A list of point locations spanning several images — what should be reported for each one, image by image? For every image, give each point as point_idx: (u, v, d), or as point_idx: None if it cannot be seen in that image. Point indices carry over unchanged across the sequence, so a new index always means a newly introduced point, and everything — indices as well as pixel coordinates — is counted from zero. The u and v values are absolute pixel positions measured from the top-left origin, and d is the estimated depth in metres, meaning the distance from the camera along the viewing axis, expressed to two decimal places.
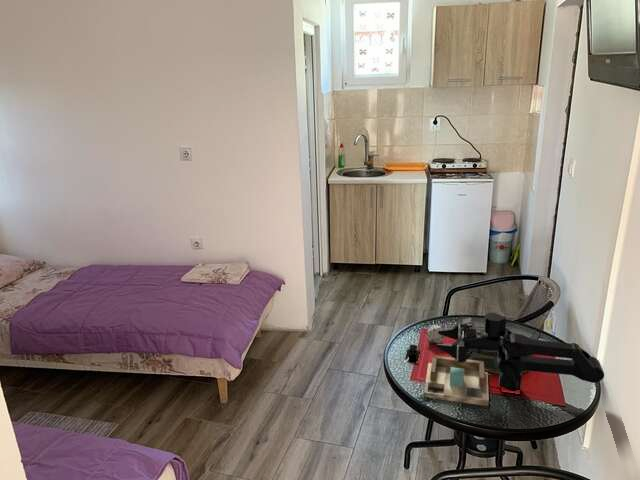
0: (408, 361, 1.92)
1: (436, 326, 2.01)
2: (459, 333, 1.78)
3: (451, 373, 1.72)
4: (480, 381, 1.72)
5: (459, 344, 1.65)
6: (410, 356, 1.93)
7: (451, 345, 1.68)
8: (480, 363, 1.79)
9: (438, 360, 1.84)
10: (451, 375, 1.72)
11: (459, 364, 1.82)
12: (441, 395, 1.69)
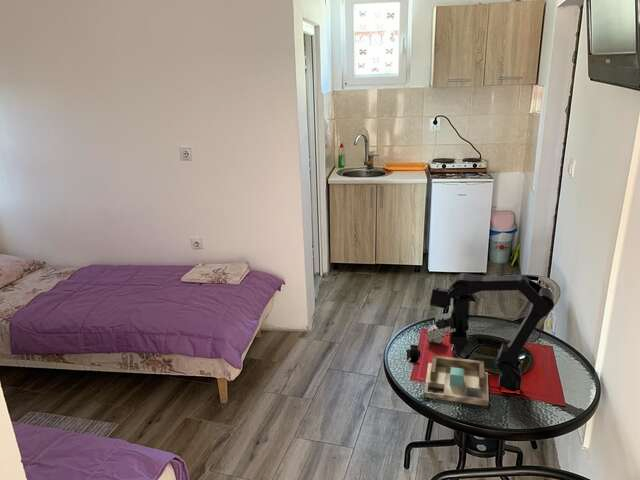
0: (410, 361, 1.91)
1: None
2: None
3: (451, 373, 1.72)
4: (480, 381, 1.72)
5: None
6: (412, 356, 1.93)
7: (454, 344, 1.70)
8: (480, 363, 1.79)
9: (438, 360, 1.84)
10: (451, 375, 1.72)
11: (459, 364, 1.82)
12: (441, 395, 1.69)
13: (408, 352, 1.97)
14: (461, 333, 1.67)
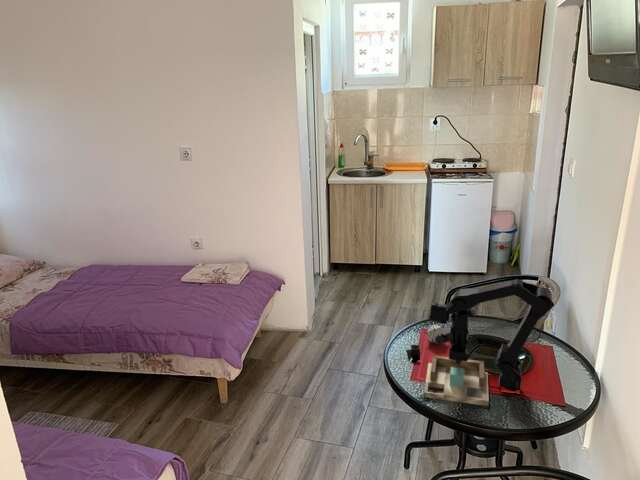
0: (412, 362, 1.91)
1: (436, 326, 2.01)
2: None
3: (451, 373, 1.72)
4: (480, 381, 1.72)
5: None
6: (413, 356, 1.93)
7: None
8: (480, 363, 1.79)
9: (438, 360, 1.84)
10: (451, 375, 1.72)
11: (459, 364, 1.82)
12: (441, 395, 1.69)
13: (408, 352, 1.97)
14: (460, 348, 1.69)
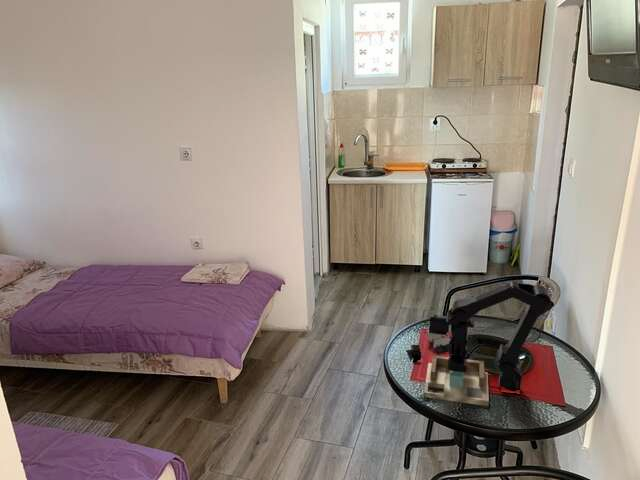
0: (414, 362, 1.91)
1: None
2: None
3: (451, 374, 1.72)
4: (480, 381, 1.72)
5: None
6: (414, 356, 1.93)
7: None
8: (480, 363, 1.79)
9: (438, 360, 1.84)
10: (451, 376, 1.71)
11: None
12: (441, 395, 1.69)
13: (409, 352, 1.97)
14: (459, 359, 1.68)
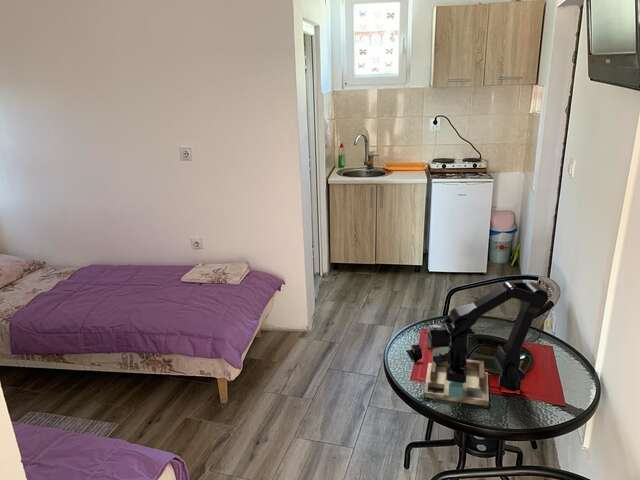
0: None
1: (436, 326, 2.01)
2: None
3: (450, 384, 1.66)
4: (480, 381, 1.72)
5: None
6: (415, 356, 1.93)
7: None
8: (480, 363, 1.79)
9: None
10: (450, 386, 1.66)
11: None
12: (441, 395, 1.69)
13: (409, 353, 1.97)
14: (458, 369, 1.63)
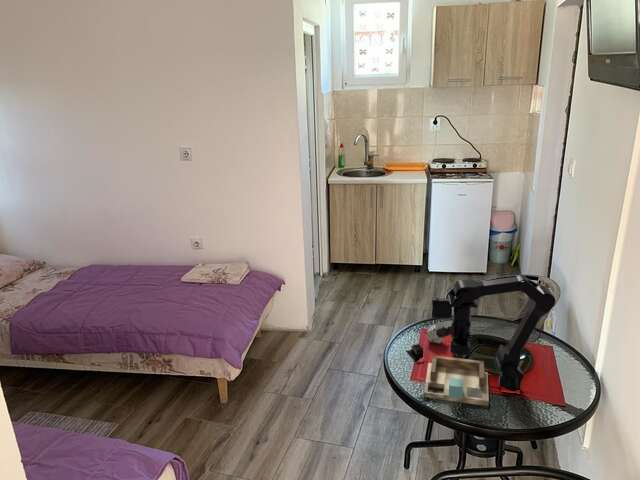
0: None
1: None
2: None
3: (450, 384, 1.67)
4: (480, 381, 1.72)
5: None
6: (418, 356, 1.93)
7: None
8: (480, 363, 1.79)
9: (438, 360, 1.84)
10: (450, 386, 1.66)
11: (459, 364, 1.82)
12: (441, 395, 1.69)
13: (410, 353, 1.97)
14: (462, 341, 1.63)
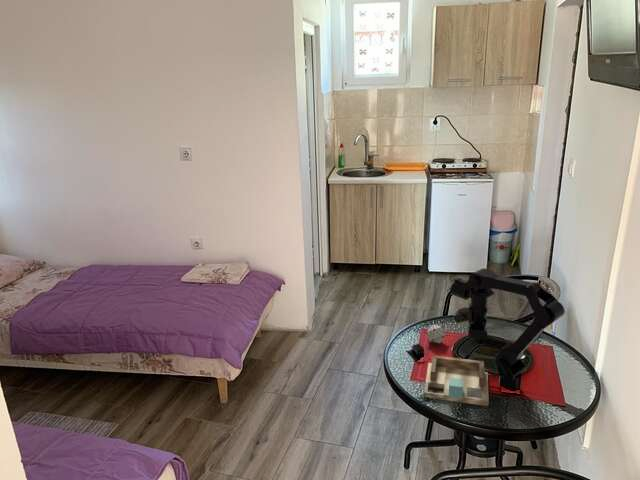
0: None
1: (436, 326, 2.01)
2: None
3: (450, 384, 1.67)
4: (480, 381, 1.72)
5: (468, 333, 1.72)
6: (419, 356, 1.93)
7: None
8: (480, 363, 1.79)
9: (438, 360, 1.84)
10: (450, 386, 1.66)
11: (459, 364, 1.82)
12: (441, 395, 1.69)
13: (410, 353, 1.96)
14: (479, 326, 1.71)
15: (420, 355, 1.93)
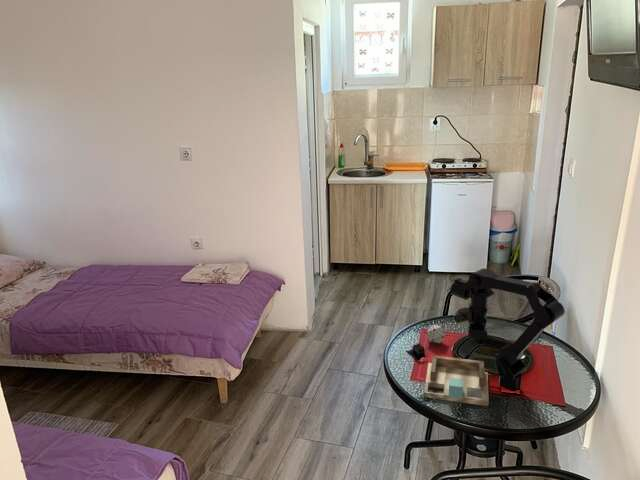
0: None
1: (436, 326, 2.01)
2: None
3: (450, 384, 1.67)
4: (480, 381, 1.72)
5: (468, 333, 1.72)
6: (420, 356, 1.93)
7: None
8: (480, 363, 1.79)
9: (438, 360, 1.84)
10: (450, 386, 1.66)
11: (459, 364, 1.82)
12: (441, 395, 1.69)
13: (410, 353, 1.96)
14: (479, 326, 1.71)
15: (421, 355, 1.93)
